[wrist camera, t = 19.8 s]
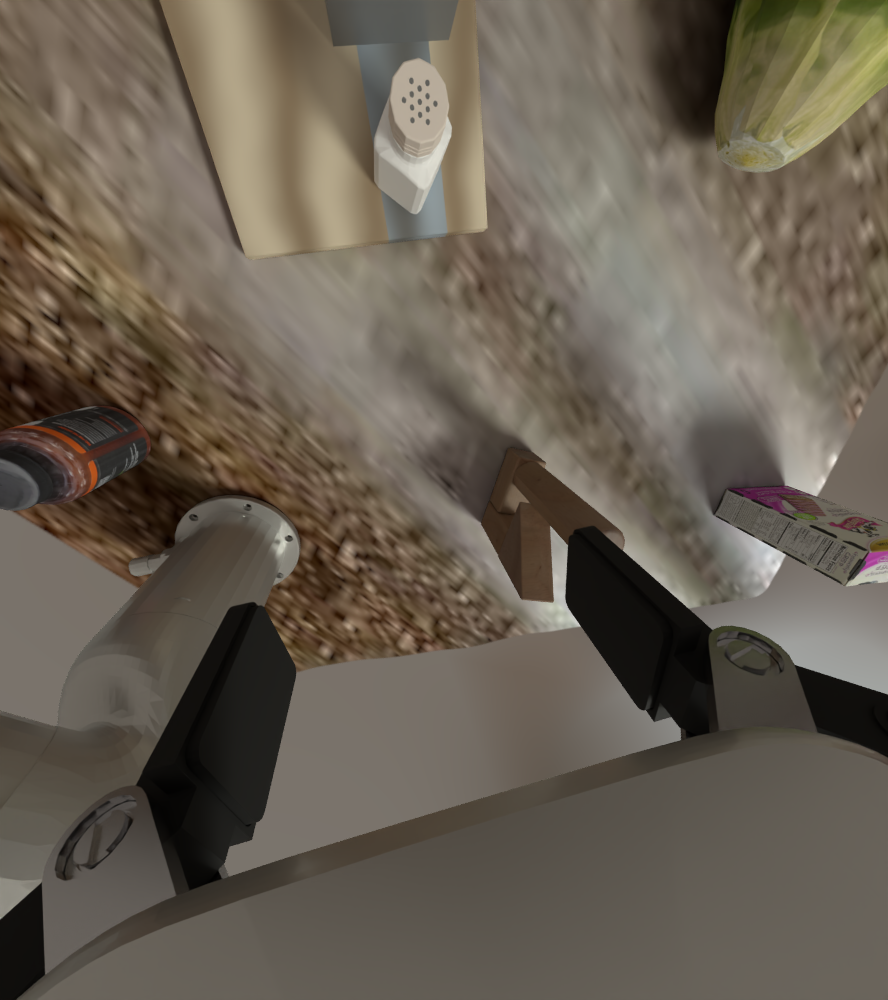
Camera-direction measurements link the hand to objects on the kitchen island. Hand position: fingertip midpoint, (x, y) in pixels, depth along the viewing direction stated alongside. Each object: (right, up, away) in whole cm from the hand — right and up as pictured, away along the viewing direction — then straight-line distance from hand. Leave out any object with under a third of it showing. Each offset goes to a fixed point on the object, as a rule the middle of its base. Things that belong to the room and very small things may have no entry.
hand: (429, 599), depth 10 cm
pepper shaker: (-3, +29, +16) cm, 33 cm away
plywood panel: (-7, +34, +14) cm, 37 cm away
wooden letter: (+8, +4, +32) cm, 33 cm away
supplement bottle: (-31, +9, +22) cm, 39 cm away
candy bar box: (+47, +3, +40) cm, 62 cm away
